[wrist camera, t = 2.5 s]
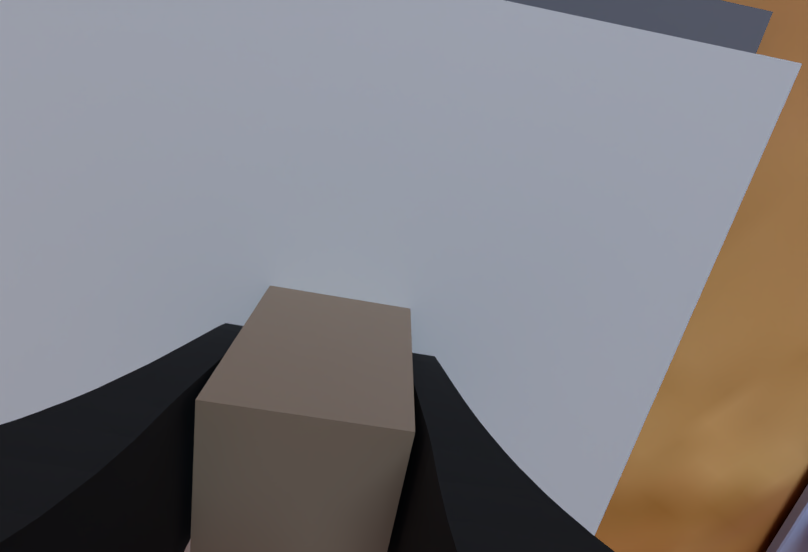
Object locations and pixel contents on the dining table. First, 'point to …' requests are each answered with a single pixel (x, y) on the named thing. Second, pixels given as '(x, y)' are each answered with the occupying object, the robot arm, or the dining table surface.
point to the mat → (674, 18)
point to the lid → (364, 232)
